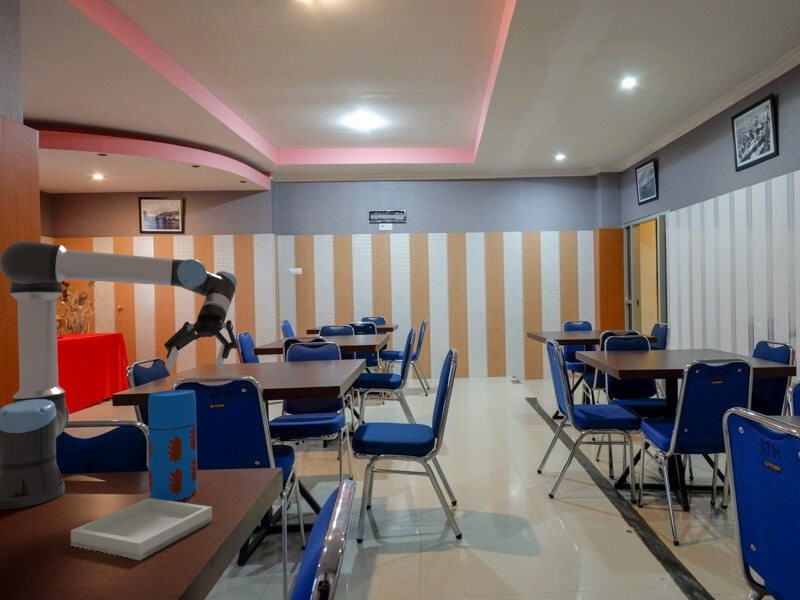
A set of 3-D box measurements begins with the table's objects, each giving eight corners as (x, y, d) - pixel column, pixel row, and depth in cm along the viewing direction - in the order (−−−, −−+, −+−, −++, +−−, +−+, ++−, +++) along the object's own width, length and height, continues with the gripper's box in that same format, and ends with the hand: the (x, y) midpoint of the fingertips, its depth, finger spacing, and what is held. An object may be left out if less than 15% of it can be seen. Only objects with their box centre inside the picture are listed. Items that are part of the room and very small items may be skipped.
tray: (70, 546, 96) (70, 530, 97) (149, 511, 113) (148, 497, 113) (139, 560, 90) (139, 543, 90) (212, 521, 107) (211, 506, 107)
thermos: (205, 487, 128) (203, 389, 129) (183, 503, 118) (181, 395, 119) (165, 487, 129) (163, 389, 130) (139, 502, 119) (138, 396, 120)
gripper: (258, 319, 153) (242, 374, 138) (177, 322, 154) (153, 377, 138) (251, 301, 148) (234, 356, 132) (168, 304, 149) (142, 360, 133)
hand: (193, 367), depth 135 cm, fingers open, 13 cm apart
